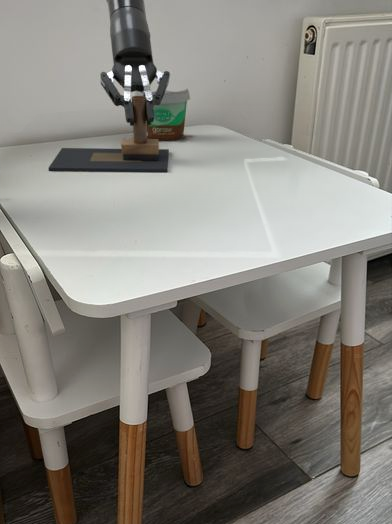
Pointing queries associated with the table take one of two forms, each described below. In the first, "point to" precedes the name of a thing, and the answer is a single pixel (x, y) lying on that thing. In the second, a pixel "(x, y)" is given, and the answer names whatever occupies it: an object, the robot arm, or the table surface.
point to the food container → (168, 116)
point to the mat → (105, 161)
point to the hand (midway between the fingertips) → (140, 122)
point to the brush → (140, 135)
